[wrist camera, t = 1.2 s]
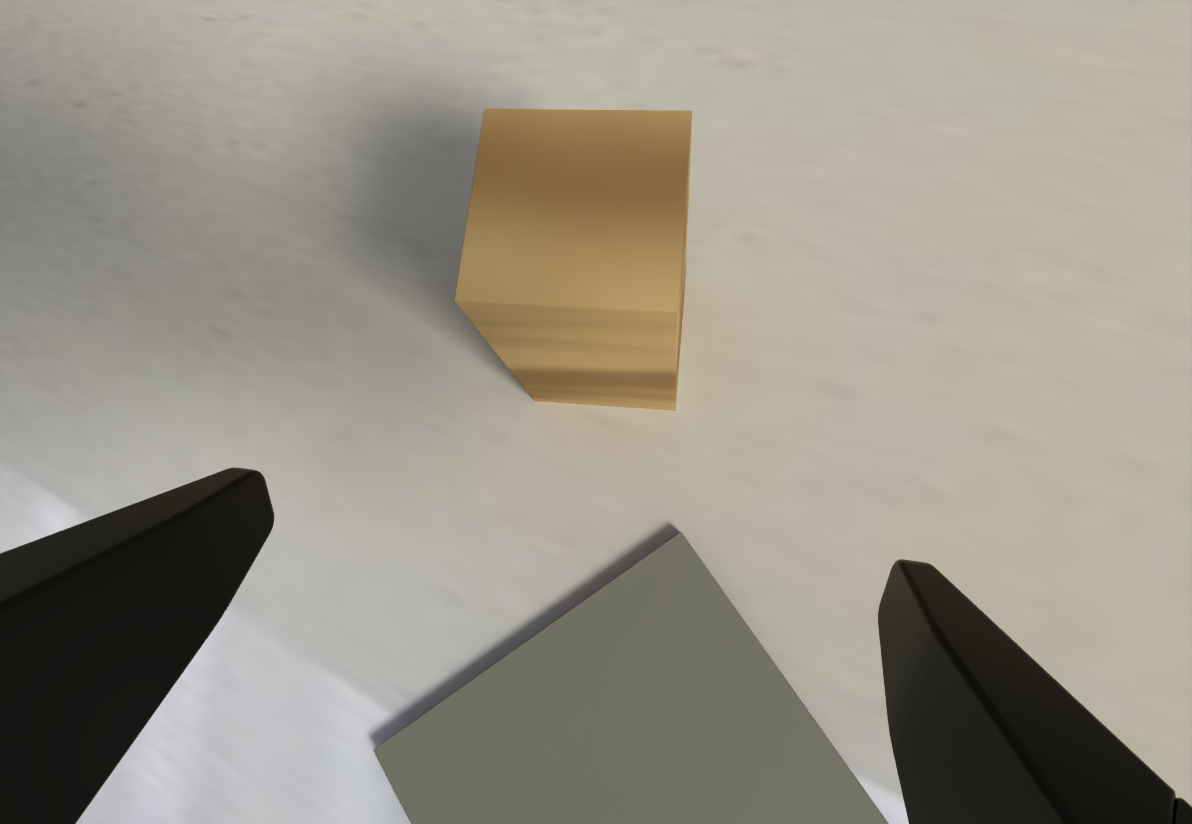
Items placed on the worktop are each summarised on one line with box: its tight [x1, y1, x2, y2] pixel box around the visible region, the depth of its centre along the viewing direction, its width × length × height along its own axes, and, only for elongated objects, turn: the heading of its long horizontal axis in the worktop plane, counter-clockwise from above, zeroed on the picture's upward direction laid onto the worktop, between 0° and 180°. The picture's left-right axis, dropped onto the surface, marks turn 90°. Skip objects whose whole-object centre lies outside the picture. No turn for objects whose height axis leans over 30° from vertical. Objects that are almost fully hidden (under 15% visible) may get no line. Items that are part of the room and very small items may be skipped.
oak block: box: [454, 109, 692, 411], centre depth 20 cm, size 5×5×9 cm
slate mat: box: [373, 532, 888, 824], centre depth 20 cm, size 12×12×1 cm
